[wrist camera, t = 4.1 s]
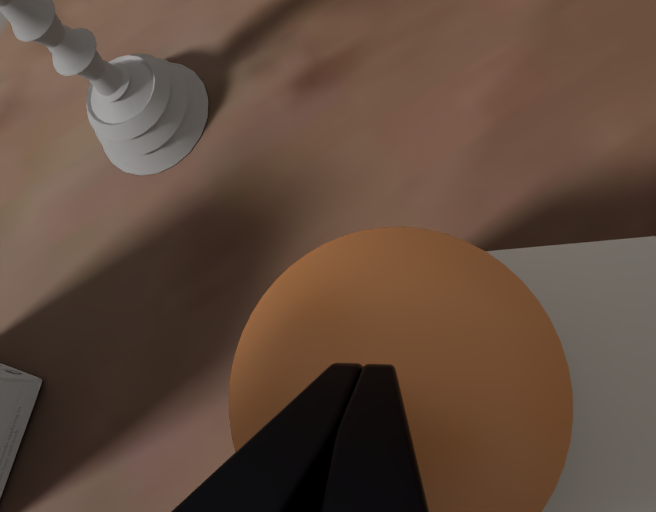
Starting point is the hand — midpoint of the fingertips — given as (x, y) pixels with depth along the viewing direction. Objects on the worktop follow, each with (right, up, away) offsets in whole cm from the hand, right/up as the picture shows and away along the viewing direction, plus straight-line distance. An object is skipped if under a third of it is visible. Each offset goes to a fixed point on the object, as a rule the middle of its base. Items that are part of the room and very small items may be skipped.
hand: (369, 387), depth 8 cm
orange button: (+1, -1, +4) cm, 4 cm away
